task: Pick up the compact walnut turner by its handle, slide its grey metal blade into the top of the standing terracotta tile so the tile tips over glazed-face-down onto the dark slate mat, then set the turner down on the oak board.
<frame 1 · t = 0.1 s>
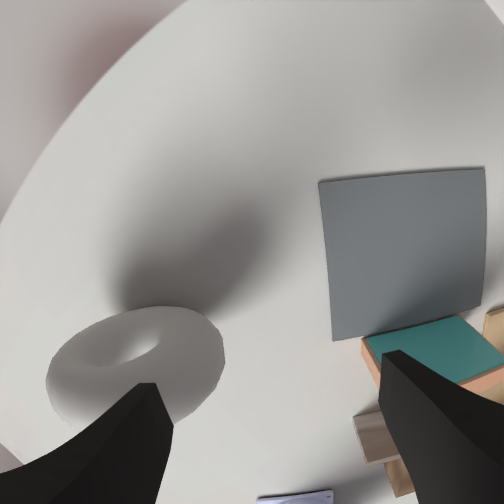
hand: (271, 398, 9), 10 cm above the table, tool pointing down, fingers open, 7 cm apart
donut: (158, 319, 20), on the table
turner: (399, 427, 22), on the table
tile: (413, 334, 20), on the table
slate mat: (416, 253, 18), on the table
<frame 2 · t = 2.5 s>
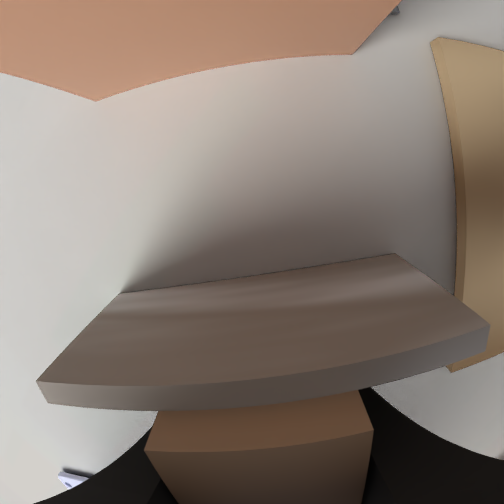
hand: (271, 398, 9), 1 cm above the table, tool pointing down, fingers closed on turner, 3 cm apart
turner: (268, 360, 10), on the table, touching gripper
tile: (216, 50, 8), on the table
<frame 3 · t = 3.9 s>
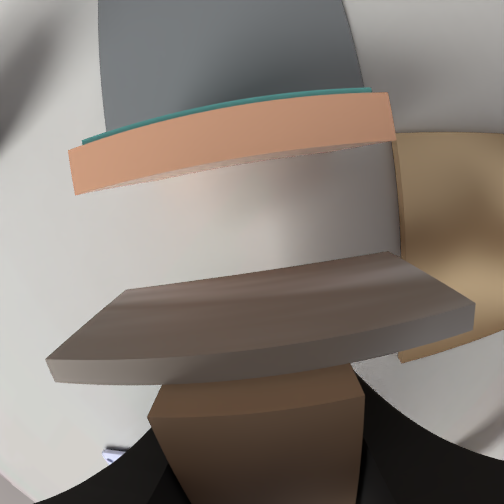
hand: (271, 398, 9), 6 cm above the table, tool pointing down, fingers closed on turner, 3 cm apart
oak board: (487, 241, 14), on the table
turner: (267, 356, 11), point 5 cm above the table, touching gripper
tile: (240, 150, 13), on the table
slate mat: (219, 30, 12), on the table
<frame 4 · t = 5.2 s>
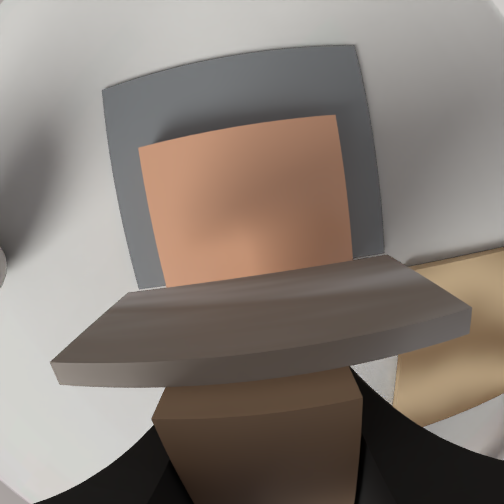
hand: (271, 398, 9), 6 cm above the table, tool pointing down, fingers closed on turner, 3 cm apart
oak board: (476, 340, 16), on the table
turner: (268, 357, 11), point 4 cm above the table, touching gripper
tile: (261, 291, 14), point 1 cm above the table, tilted 90°, touching slate mat
slate mat: (242, 162, 14), on the table
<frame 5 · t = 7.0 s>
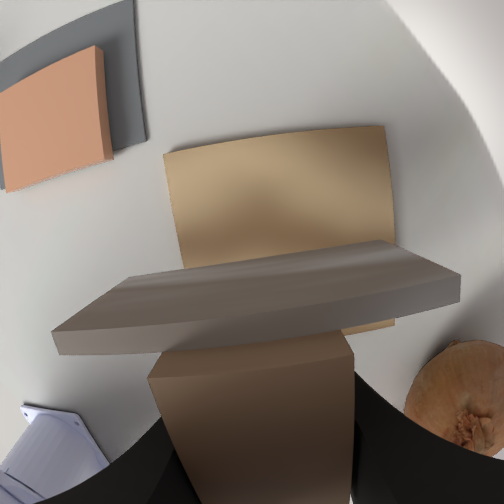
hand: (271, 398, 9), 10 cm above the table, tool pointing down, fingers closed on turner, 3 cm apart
oak board: (290, 244, 18), on the table
turner: (265, 342, 11), point 7 cm above the table, touching gripper
tile: (54, 176, 16), point 1 cm above the table, tilted 90°, touching slate mat
slate mat: (54, 93, 15), on the table
onion: (440, 372, 20), on the table
when the fingers open (3 cm above the table, at t = 8.7 s): turner stays where it is, resting on oak board.
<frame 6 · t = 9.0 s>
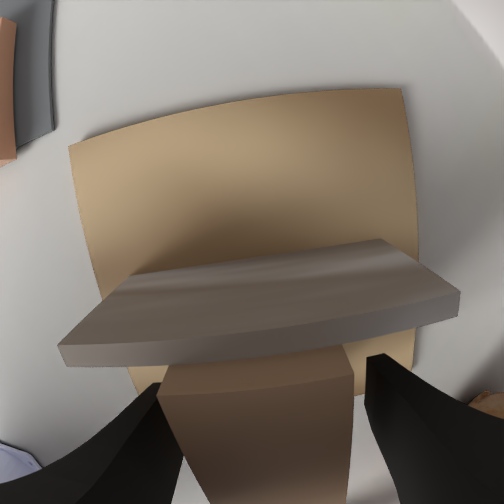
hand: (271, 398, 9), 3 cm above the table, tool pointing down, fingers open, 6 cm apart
oak board: (257, 274, 11), on the table
turner: (265, 337, 11), point 1 cm above the table, touching oak board
onion: (461, 423, 14), on the table
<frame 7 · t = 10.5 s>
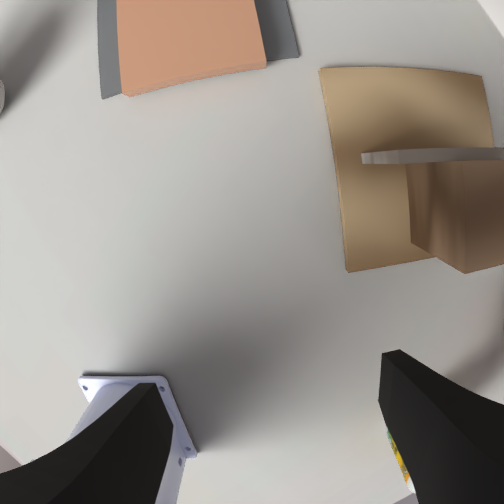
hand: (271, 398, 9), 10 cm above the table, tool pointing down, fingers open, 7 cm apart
oak board: (424, 162, 17), on the table
turner: (432, 199, 17), point 1 cm above the table, touching oak board
tile: (193, 77, 15), point 1 cm above the table, tilted 90°, touching slate mat
slate mat: (186, 6, 15), on the table
supplement bottle: (411, 416, 23), on the table
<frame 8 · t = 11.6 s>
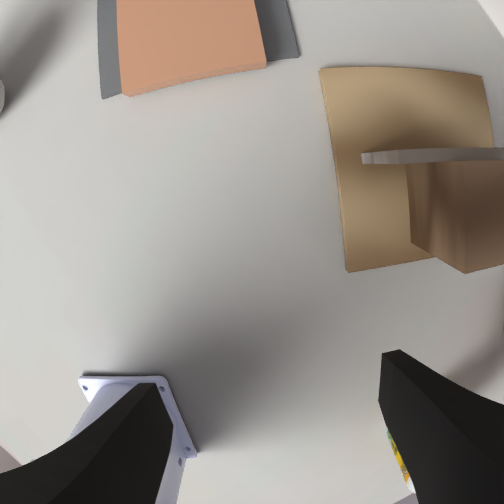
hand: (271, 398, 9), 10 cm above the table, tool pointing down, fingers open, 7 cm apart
oak board: (424, 162, 17), on the table
turner: (432, 199, 17), point 1 cm above the table, touching oak board
tile: (193, 77, 15), point 1 cm above the table, tilted 90°, touching slate mat
slate mat: (186, 6, 15), on the table
supplement bottle: (411, 416, 23), on the table
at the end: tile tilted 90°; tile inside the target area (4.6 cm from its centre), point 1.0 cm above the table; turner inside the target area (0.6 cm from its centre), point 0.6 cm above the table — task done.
